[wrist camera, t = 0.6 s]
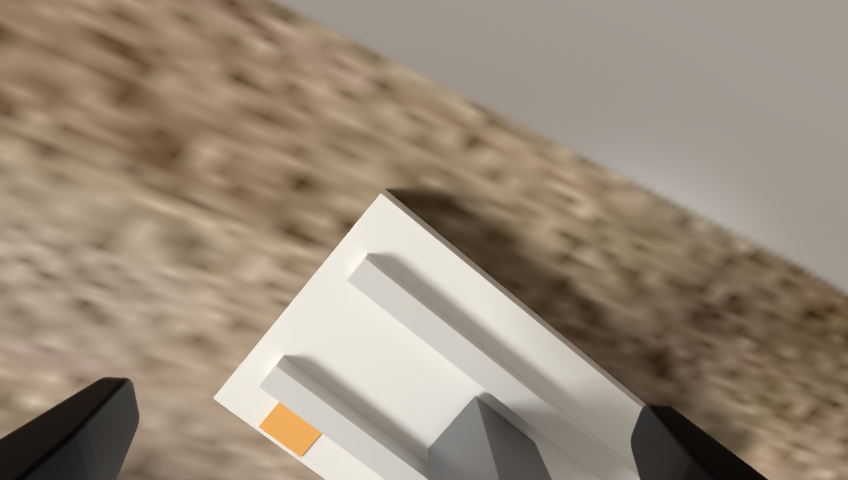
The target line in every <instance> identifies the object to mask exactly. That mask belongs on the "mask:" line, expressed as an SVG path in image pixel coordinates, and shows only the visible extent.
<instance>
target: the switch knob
mask: <svg viewBox="0 0 848 480" xmlns="http://www.w3.org/2000/svg"><path fill="white" fill-rule="evenodd" d="M428 463H429V479H430V480H552V479H551V477H550V475H549V473H548V470H547V468H546V466H545V464H544V462H543V459H542V457H541V455H540V453H539V450H538V448H537V446H536V444H535V442H534V441H533V440H532V439H530V438H529V437H528V436H526V435H525V434H524V433H523V432H521V431H520V430H519V429H518V428H516V427H515V426H514V425H512V424H511V423H510V422H509V421H507V420H506V419H505V418H503V417H502V416H501V415H500V414H498V413H497V412H496V411H495V410H493V409H492V408H491V407H489V406H488V405H487V404H486V403H484V402H483V401H482V400H481V399H479V398H478V397H477V396H474V398H473V399H472V400H471V401H470V402H469V403H468V404H467V406H466V407H465V408H464V409H463V410H462V411H461V412H460V413H459V415H458V416H457V417H456V418H455V419H454V420H453V421H452V422H451V424H450V425H449V426H448V427H447V428H446V429H445V430H444V431H443V433H442V434H441V435H440V436H439V437H438V438H437V439H436V440H435V442H434V443H433V444H432V445H431V446H430V447H429V448H428Z"/></svg>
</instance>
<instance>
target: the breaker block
mask: <svg viewBox="0 0 848 480" xmlns="http://www.w3.org/2000/svg"><path fill="white" fill-rule="evenodd" d="M474 396H477V397H478V398H479V399H481V400H482V401H483V402H484V403H486V404H487V405H488V406H489V407H491V408H492V409H493V410H495V411H496V412H497V413H498V414H500V415H501V416H502V417H503V418H505V419H506V420H507V421H509V422H510V423H511V424H512V425H514V426H515V427H516V428H518V429H519V430H520V431H521V432H523V433H524V434H525V435H526V436H528V437H529V438H530V439H532V440H533V441H534V442H535V444H536V446H537V448H538V450H539V453H540V455H541V457H542V459H543V462H544V464H545V466H546V468H547V470H548V473H549V475H550V477H551V479H552V480H640V477H639V474H638V470H637V467H636V463H635V460H634V456H633V453H632V449H631V435H632V432H633V429H634V427H635V424H636V422H637V419H638V416H639V414H640V411H641V409H642V407H643V406H644V405H645V403H644V402H643V401H641V400H640V399H639V398H638V397H637V396H635V395H634V394H633V393H632V392H631V391H629V390H628V389H627V388H626V387H624V386H623V385H622V384H621V383H620V382H618V381H617V380H616V379H615V378H614V377H612V376H611V375H610V374H609V373H607V372H606V371H605V370H604V369H603V368H601V367H600V366H599V365H598V364H597V363H595V362H594V361H593V360H592V359H591V358H589V357H588V356H587V355H586V354H584V353H583V352H582V351H581V350H580V349H578V348H577V347H576V346H575V345H574V344H572V343H571V342H570V341H569V340H567V339H566V338H565V337H564V336H563V335H561V334H560V333H559V332H558V331H557V330H555V329H554V328H553V327H552V326H550V325H549V324H548V323H547V322H546V321H544V320H543V319H542V318H541V317H540V316H538V315H537V314H536V313H535V312H534V311H532V310H531V309H530V308H529V307H527V306H526V305H525V304H524V303H523V302H521V301H520V300H519V299H518V298H517V297H515V296H514V295H513V294H512V293H510V292H509V291H508V290H507V289H506V288H504V287H503V286H502V285H501V284H500V283H498V282H497V281H496V280H495V279H494V278H492V277H491V276H490V275H489V274H487V273H486V272H485V271H484V270H483V269H481V268H480V267H479V266H478V265H477V264H475V263H474V262H473V261H472V260H470V259H469V258H468V257H467V256H466V255H464V254H463V253H462V252H461V251H460V250H458V249H457V248H456V247H455V246H454V245H452V244H451V243H450V242H449V241H447V240H446V239H445V238H444V237H443V236H441V235H440V234H439V233H438V232H437V231H435V230H434V229H433V228H432V227H430V226H429V225H428V224H427V223H426V222H424V221H423V220H422V219H421V218H420V217H418V216H417V215H416V214H415V213H413V212H412V211H411V210H410V209H409V208H407V207H406V206H405V205H404V204H403V203H401V202H400V201H399V200H398V199H397V198H395V197H394V196H393V195H392V194H390V193H389V192H388V191H387V190H386V189H384V190H383V191H382V192H381V194H380V195H379V196H378V197H377V198H376V200H375V201H374V202H373V203H372V205H371V206H370V207H369V208H368V209H367V211H366V212H365V213H364V214H363V216H362V217H361V218H360V219H359V220H358V222H357V223H356V224H355V225H354V227H353V228H352V229H351V230H350V231H349V233H348V234H347V235H346V236H345V238H344V239H343V240H342V241H341V242H340V244H339V245H338V246H337V247H336V249H335V250H334V251H333V252H332V253H331V255H330V256H329V257H328V258H327V260H326V261H325V262H324V263H323V264H322V266H321V267H320V268H319V269H318V271H317V272H316V273H315V274H314V275H313V277H312V278H311V279H310V280H309V282H308V283H307V284H306V285H305V286H304V288H303V289H302V290H301V291H300V293H299V294H298V295H297V296H296V297H295V299H294V300H293V301H292V302H291V304H290V305H289V306H288V307H287V308H286V310H285V311H284V312H283V313H282V315H281V316H280V317H279V318H278V319H277V321H276V322H275V323H274V324H273V326H272V327H271V328H270V329H269V330H268V332H267V333H266V334H265V335H264V337H263V338H262V339H261V340H260V342H259V343H258V344H257V345H256V346H255V348H254V349H253V350H252V351H251V353H250V354H249V355H248V356H247V357H246V359H245V360H244V361H243V362H242V364H241V365H240V366H239V367H238V368H237V370H236V371H235V372H234V373H233V375H232V376H231V377H230V378H229V379H228V381H227V382H226V383H225V384H224V386H223V387H222V388H221V389H220V390H219V392H218V393H217V394H216V395H215V397H214V398H213V399H215V400H216V401H218V402H219V403H220V404H222V405H223V406H224V407H226V408H227V409H229V410H230V411H231V412H233V413H234V414H236V415H237V416H238V417H240V418H241V419H242V420H244V421H245V422H247V423H248V424H249V425H251V426H252V427H253V428H255V429H256V430H258V431H259V432H260V433H262V434H263V435H265V436H266V437H267V438H269V439H270V440H271V441H273V442H274V443H276V444H277V445H278V446H280V447H281V448H283V449H284V450H285V451H287V452H288V453H289V454H291V455H292V456H294V457H295V458H296V459H298V460H299V461H301V462H302V463H303V464H305V465H306V466H307V467H309V468H310V469H312V470H313V471H314V472H316V473H317V474H318V475H320V476H321V477H323V478H324V479H325V480H430V479H429V463H428V448H429V447H430V446H431V445H432V444H433V443H434V442H435V440H436V439H437V438H438V437H439V436H440V435H441V434H442V433H443V431H444V430H445V429H446V428H447V427H448V426H449V425H450V424H451V422H452V421H453V420H454V419H455V418H456V417H457V416H458V415H459V413H460V412H461V411H462V410H463V409H464V408H465V407H466V406H467V404H468V403H469V402H470V401H471V400H472V399H473V398H474Z"/></svg>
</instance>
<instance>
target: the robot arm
mask: <svg viewBox="0 0 848 480" xmlns="http://www.w3.org/2000/svg"><path fill="white" fill-rule="evenodd" d="M138 423H139V410H138V405H137V401H136V396H135V391H134V386H133V383H132V381H131V380H130V379H128V378H118V377H104V378H102V379H100V380H98V381H96V382H94V383H93V384H91V385H89V386H88V387H86V388H84V389H83V390H81V391H79V392H78V393H76V394H74V395H73V396H71V397H69V398H68V399H66V400H64V401H63V402H61V403H59V404H58V405H56V406H54V407H53V408H51V409H50V410H48V411H46V412H45V413H43V414H41V415H40V416H38V417H36V418H35V419H33V420H31V421H30V422H28V423H26V424H25V425H23V426H21V427H20V428H18V429H16V430H15V431H13V432H11V433H10V434H8V435H6V436H5V437H3V438H1V439H0V480H116V479H117V477H118V474H119V472H120V469H121V467H122V464H123V462H124V459H125V457H126V454H127V452H128V449H129V447H130V444H131V442H132V440H133V437H134V435H135V432H136V430H137V427H138ZM631 449H632V453H633V456H634V460H635V463H636V467H637V470H638V474H639V477H640V480H768V479H767V478H765V477H764V476H763V475H761V474H760V473H759V472H757V471H756V470H755V469H753V468H752V467H751V466H749V465H748V464H747V463H745V462H744V461H743V460H741V459H740V458H739V457H737V456H736V455H735V454H733V453H732V452H731V451H729V450H728V449H727V448H725V447H724V446H723V445H721V444H720V443H719V442H717V441H716V440H715V439H713V438H712V437H711V436H709V435H708V434H707V433H705V432H704V431H703V430H701V429H700V428H699V427H697V426H696V425H695V424H693V423H692V422H691V421H690V420H688V419H687V418H686V417H684V416H683V415H682V414H680V413H679V412H678V411H676V410H675V409H674V408H672V407H671V406H669V405H666V404H645V405H644V406H643V407H642V409H641V411H640V414H639V416H638V419H637V422H636V424H635V427H634V429H633V432H632V435H631Z"/></svg>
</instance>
